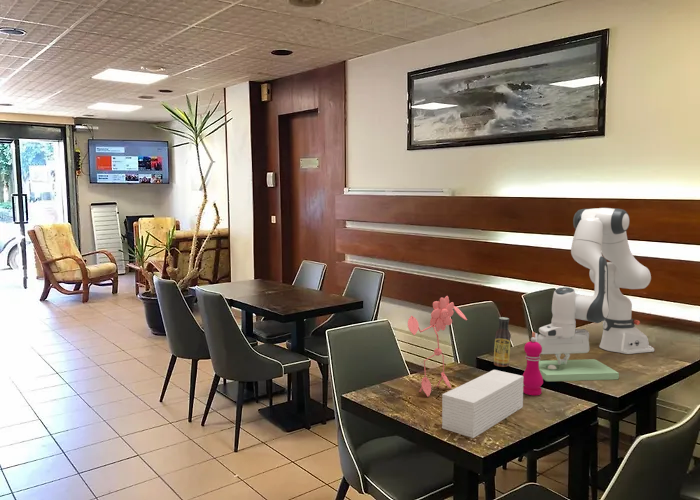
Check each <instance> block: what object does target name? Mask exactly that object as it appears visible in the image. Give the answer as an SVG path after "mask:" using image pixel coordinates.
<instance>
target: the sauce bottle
mask: <svg viewBox="0 0 700 500" xmlns="http://www.w3.org/2000/svg"><path fill="white" fill-rule="evenodd" d="M509 324H510V318H509V317H506V316H505V317H503V316H501V317H498V328H497V329H496V332H495V337H494V348H493V351H494V352H493V365H494V366H496V367H499V368H507V367H509V365H510V357H511V356H510V353H511V337H512V336H511V332H510V330H509Z"/></svg>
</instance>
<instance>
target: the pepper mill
mask: <svg viewBox="0 0 700 500" xmlns="http://www.w3.org/2000/svg"><path fill="white" fill-rule="evenodd" d="M535 341H536V338H534V337H532V336H531V338H530V341H528V342H526V343H525V344H524V346H523V350H524V352H525V355H524V356H525V360H526V366H525V369H524V372H523V374H522V376H524V378H523V394H525V395H529V396H540V395H541V394H542V385H543V384H544V379H543V378H542V375H541V373H540V370H539V361H541V355H542V354H541V352H542V346H541V345H540V344H539V343H538V342H535Z"/></svg>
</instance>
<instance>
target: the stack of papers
mask: <svg viewBox="0 0 700 500" xmlns="http://www.w3.org/2000/svg"><path fill="white" fill-rule="evenodd" d="M523 378H524V376H523V375H522V374H521V375H520V374H516V373H511V372H506V371H504V370H503V371H501V370H498V369H492V370H490V371H488V372H487V373H484V374H482V375H480V376H478V377H475V378H474V379H472V380H470V381H467V382H465V383H463V384H461V385H459V386H457V387H455V388H452V389H450V390H449V391H446V392H444V393H442V395H441V397H442V398H441V400H442V401H441V402H442V404H441V407H442V409H441V411H442V412H441V425H442V426H441V428H442V429H443V430H447V431H450V432H453V433H457V434H460V435H462V436H465V437H467V438H471V439H474V438H476V437H477V436H479V435H481V434H482V433H484V432H485V431H487V430H488V429H490V428H492V427H494V426H495V425H497V424H498V423H501V421H503V420H505V419H506V418H508V417H510V416H511V415H513V414H514V413H515V412H518V411H519V410H520V409H522V408H523V407H524V392H523V386H524V384H523Z"/></svg>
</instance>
